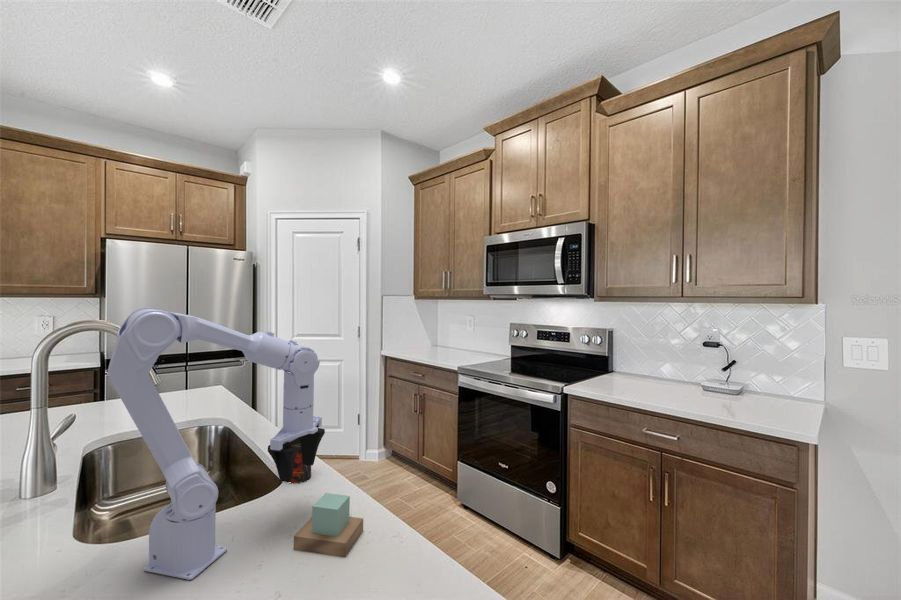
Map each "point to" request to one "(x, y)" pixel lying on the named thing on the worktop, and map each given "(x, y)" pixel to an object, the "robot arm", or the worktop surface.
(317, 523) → the sage cube
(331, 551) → the walnut block
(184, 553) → the robot arm
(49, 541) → the worktop surface
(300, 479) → the deodorant
